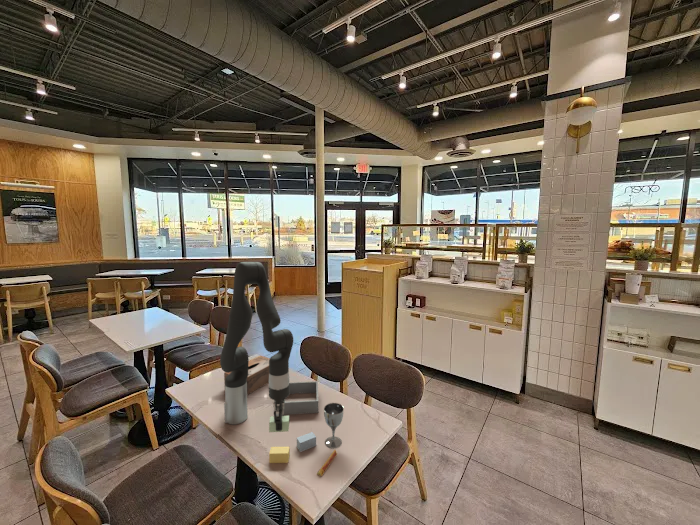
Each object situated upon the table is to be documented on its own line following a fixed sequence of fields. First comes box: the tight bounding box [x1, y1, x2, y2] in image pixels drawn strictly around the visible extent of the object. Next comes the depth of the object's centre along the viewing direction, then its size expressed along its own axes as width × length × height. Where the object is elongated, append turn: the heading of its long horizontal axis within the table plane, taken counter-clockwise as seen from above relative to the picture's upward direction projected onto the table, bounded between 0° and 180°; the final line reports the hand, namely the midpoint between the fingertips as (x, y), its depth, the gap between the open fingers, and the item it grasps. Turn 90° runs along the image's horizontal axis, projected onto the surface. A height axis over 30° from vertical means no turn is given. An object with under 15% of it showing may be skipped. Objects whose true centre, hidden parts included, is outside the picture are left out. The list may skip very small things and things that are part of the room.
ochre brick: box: [268, 446, 291, 464], centre depth 115 cm, size 7×4×4 cm, turn 92°
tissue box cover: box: [223, 355, 271, 396], centre depth 170 cm, size 26×14×10 cm, turn 151°
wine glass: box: [323, 402, 345, 450], centre depth 124 cm, size 8×8×15 cm
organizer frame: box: [283, 380, 319, 416], centre depth 152 cm, size 19×19×6 cm
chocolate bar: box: [316, 449, 338, 477], centre depth 113 cm, size 3×12×2 cm, turn 154°
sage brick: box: [268, 415, 290, 433], centre depth 113 cm, size 7×4×4 cm, turn 97°
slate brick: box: [296, 431, 317, 453], centre depth 122 cm, size 7×4×4 cm, turn 122°
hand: (279, 426), depth 114 cm, fingers closed on sage brick, 3 cm apart
